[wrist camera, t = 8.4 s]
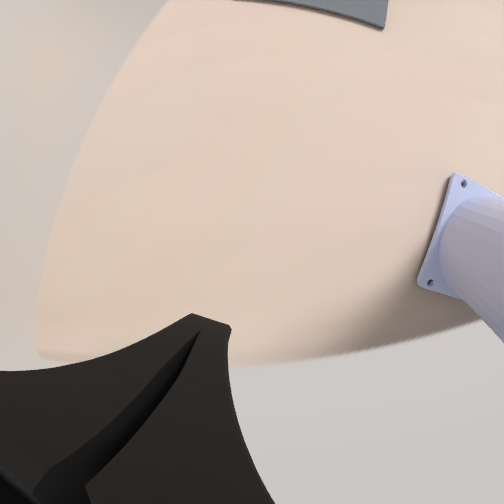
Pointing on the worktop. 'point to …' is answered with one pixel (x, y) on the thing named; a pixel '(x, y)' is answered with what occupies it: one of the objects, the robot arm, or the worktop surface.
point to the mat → (350, 9)
